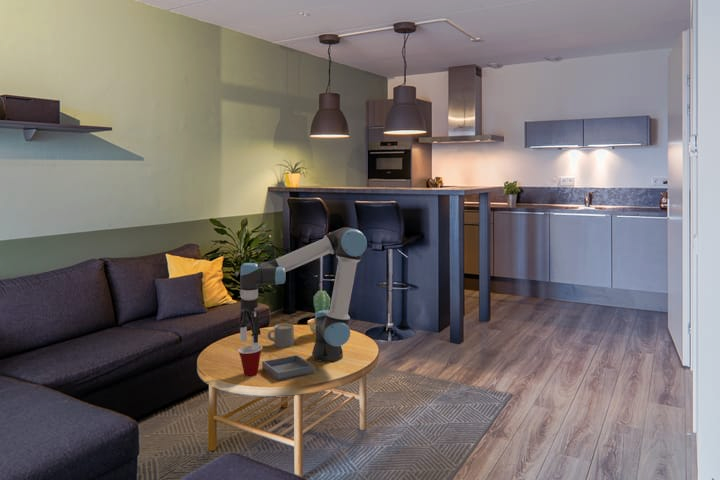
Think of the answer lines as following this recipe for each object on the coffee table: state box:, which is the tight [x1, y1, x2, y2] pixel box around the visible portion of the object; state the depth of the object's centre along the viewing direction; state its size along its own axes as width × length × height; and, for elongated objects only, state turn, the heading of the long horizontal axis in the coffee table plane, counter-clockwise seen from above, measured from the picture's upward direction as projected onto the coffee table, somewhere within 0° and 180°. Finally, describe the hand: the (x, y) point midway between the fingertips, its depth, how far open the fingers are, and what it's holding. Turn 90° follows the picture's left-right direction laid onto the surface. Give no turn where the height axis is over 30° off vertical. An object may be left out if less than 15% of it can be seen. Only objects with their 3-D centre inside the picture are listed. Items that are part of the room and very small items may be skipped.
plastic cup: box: [237, 344, 263, 377], centre depth 246 cm, size 11×11×12 cm
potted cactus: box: [306, 290, 331, 338], centre depth 306 cm, size 15×15×25 cm
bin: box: [261, 354, 315, 381], centre depth 250 cm, size 18×18×4 cm
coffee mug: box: [267, 323, 295, 349], centre depth 289 cm, size 13×10×10 cm
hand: (249, 345), depth 245 cm, fingers open, 13 cm apart
